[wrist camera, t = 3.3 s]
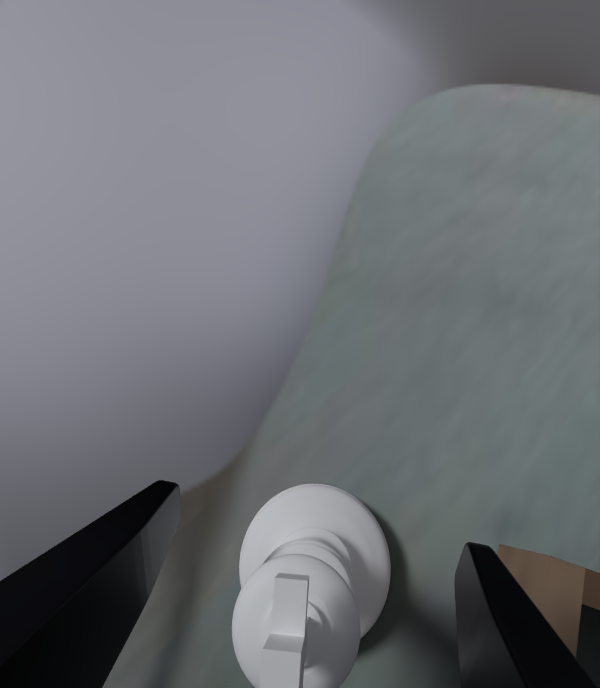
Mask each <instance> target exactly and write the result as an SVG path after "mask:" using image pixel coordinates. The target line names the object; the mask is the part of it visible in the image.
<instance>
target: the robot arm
mask: <svg viewBox="0 0 600 688" xmlns="http://www.w3.org/2000/svg"><path fill="white" fill-rule="evenodd" d="M180 517H181V505H180V488H179V485H178V484H176V483H174V482H169V481H164V480H159V481H156V482H155V483H153V484H151V485H150V486H148V487H147V488H145V489H144V490H142V491H140V492H139V493H137V494H136V495H134V496H133V497H131V498H130V499H128V500H126V501H125V502H123V503H122V504H120V505H119V506H117V507H115V508H114V509H112V510H111V511H109V512H108V513H106V514H104V515H103V516H101V517H100V518H98V519H97V520H95V521H93V522H92V523H90V524H89V525H87V526H86V527H84V528H82V529H81V530H79V531H78V532H76V533H75V534H73V535H71V536H70V537H68V538H67V539H65V540H64V541H62V542H61V543H59V544H58V545H56V546H54V547H53V548H51V549H50V550H48V551H46V552H45V553H44V554H42V555H40V556H39V557H37V558H36V559H34V560H32V561H31V562H29V563H28V564H26V565H25V566H23V567H21V568H20V569H18V570H17V571H15V572H14V573H12V574H10V575H9V576H7V577H6V578H4V579H3V580H1V581H0V688H102V687H103V685H104V683H105V681H106V679H107V677H108V675H109V673H110V672H111V670H112V668H113V666H114V664H115V662H116V660H117V658H118V656H119V654H120V652H121V651H122V649H123V647H124V645H125V643H126V641H127V639H128V637H129V635H130V633H131V632H132V630H133V628H134V626H135V624H136V622H137V620H138V618H139V616H140V614H141V613H142V610H143V608H144V606H145V604H146V602H147V600H148V598H149V596H150V594H151V591H152V589H153V587H154V584H155V582H156V579H157V577H158V574H159V572H160V569H161V567H162V564H163V562H164V559H165V557H166V554H167V552H168V549H169V547H170V544H171V542H172V540H173V537H174V535H175V532H176V530H177V527H178V525H179V521H180ZM455 601H456V618H457V636H458V654H459V668H460V678H461V686H462V688H598V686H597V685H596V684H595V683H594V681H593V680H592V679H591V677H590V676H589V675H588V673H587V672H586V671H585V669H584V668H583V667H582V666H581V664H580V663H579V662H578V660H577V659H576V658H575V656H574V655H573V654H572V652H571V651H570V650H569V649H568V647H567V646H566V645H565V643H564V642H563V641H562V639H561V638H560V637H559V635H558V634H557V633H556V632H555V630H554V629H553V628H552V626H551V625H550V624H549V622H548V621H547V620H546V618H545V617H544V616H543V615H542V613H541V612H540V611H539V609H538V608H537V607H536V605H535V604H534V603H533V601H532V600H531V599H530V598H529V596H528V595H527V594H526V592H525V591H524V590H523V588H522V587H521V586H520V584H519V583H518V582H517V580H516V579H515V578H514V577H513V575H512V574H511V573H510V571H509V570H508V569H507V567H506V566H505V565H504V563H503V562H502V561H501V560H500V558H499V557H498V556H497V554H496V553H495V552H494V550H493V549H492V548H490V547H489V546H487V545H482V544H477V543H472V542H468V543H466V544H465V546H464V548H463V551H462V554H461V557H460V560H459V563H458V566H457V569H456V573H455Z"/></svg>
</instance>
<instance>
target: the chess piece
mask: <svg viewBox="0 0 600 688" xmlns="http://www.w3.org/2000/svg"><path fill="white" fill-rule="evenodd" d="M239 574H240V583H241V591H240V593H239V596H238V598H237V601H236V604H235V608H234V613H233V620H232V638H233V645H234V650H235V654H236V657H237V660H238V662H239V665H240V667H241V669H242V671H243V672H244V674H245V676H246V677H247V678H248V680H249V681H250V682H251V684H252V685H253V686H254V687H255V688H338V687H339V686H340V685H341V684H342V683H343V682H344V680H345V679H346V678H347V676H348V674H349V673H350V671H351V669H352V667H353V665H354V662H355V660H356V657H357V653H358V649H359V644H360V639H361V638H362V637H363V636H364V635H365V634H366V633H367V632H368V631H369V630H370V629H371V627H372V626H373V625H374V623H375V622H376V620H377V619H378V617H379V615H380V614H381V612H382V609H383V607H384V605H385V602H386V599H387V595H388V591H389V585H390V576H391V563H390V555H389V549H388V545H387V542H386V539H385V536H384V533H383V531H382V529H381V527H380V525H379V523H378V522H377V520H376V518H375V517H374V516H373V514H372V513H371V512H370V511H369V509H368V508H367V507H366V506H365V505H364V504H363V503H362V502H361V501H359V500H358V499H357V498H356V497H354V496H353V495H351V494H349V493H348V492H346V491H344V490H342V489H339V488H337V487H333V486H330V485H325V484H303V485H298V486H295V487H292V488H289V489H287V490H284V491H282V492H281V493H279V494H277V495H276V496H274V497H273V498H272V499H270V500H269V501H268V502H267V503H266V504H265V505H264V506H263V507H262V508H261V509H260V510H259V512H258V513H257V514H256V516H255V517H254V519H253V520H252V522H251V524H250V526H249V528H248V530H247V532H246V535H245V538H244V541H243V544H242V548H241V554H240V563H239Z"/></svg>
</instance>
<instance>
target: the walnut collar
mask: <svg viewBox="0 0 600 688" xmlns="http://www.w3.org/2000/svg"><path fill="white" fill-rule="evenodd" d="M497 556H498V557H499V558H500V560H501V561H502V562H503V563H504V565H505V566H506V567H507V569H508V570H509V571H510V573H511V574H512V575H513V577H514V578H515V579H516V580H517V582H518V583H519V584H520V586H521V587H522V588H523V590H524V591H525V592H526V594H527V595H528V596H529V598H530V599H531V600H532V601H533V603H534V604H535V605H536V607H537V608H538V609H539V611H540V612H541V613H542V615H543V616H544V617H545V618H546V620H547V621H548V622H549V624H550V625H551V626H552V628H553V629H554V630H555V632H556V633H557V634H558V635H559V637H560V638H561V639H562V641H563V642H564V643H565V645H566V646H567V647H568V649H569V650H570V651H571V652H572V654H573V655H574V656H575V658H576V652H577V643H578V633H579V624H580V615H581V605H582V604H584V605H587V606H589V607H592V608H595V609H597V610H600V573H597V572H595V571H592V570H589V569H586V568H583V567H580V566H578V565H575V564H572V563H569V562H566V561H563V560H561V559H558V558H555V557H552V556H548V555H544V554H539V553H535V552H531V551H526V550H522V549H518V548H513V547H509V546H505V545H500V544H499V550H498V555H497Z"/></svg>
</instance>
